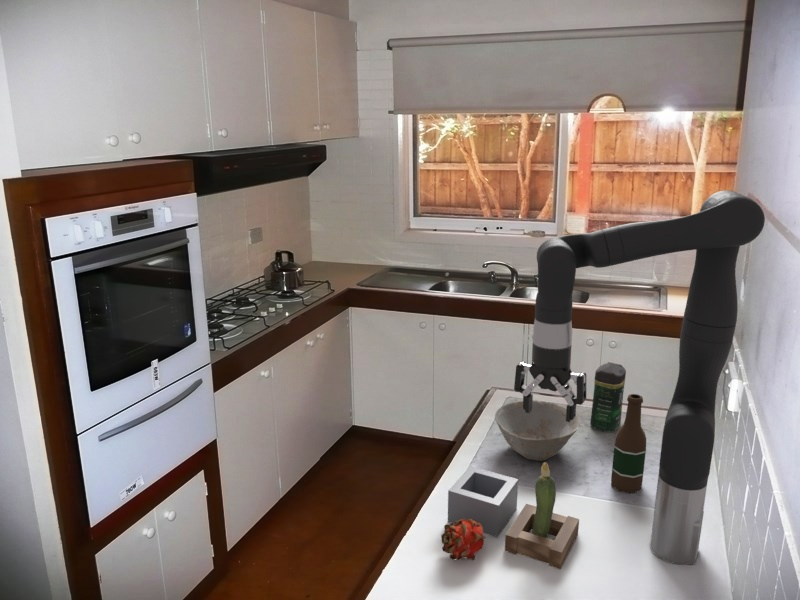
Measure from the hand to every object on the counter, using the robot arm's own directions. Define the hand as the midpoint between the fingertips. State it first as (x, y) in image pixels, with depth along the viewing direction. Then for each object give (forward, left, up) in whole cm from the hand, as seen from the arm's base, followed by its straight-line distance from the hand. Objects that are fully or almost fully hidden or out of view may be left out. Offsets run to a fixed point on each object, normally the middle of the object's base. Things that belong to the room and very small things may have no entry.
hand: (548, 416), depth 138 cm
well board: (-1, 0, -30) cm, 30 cm away
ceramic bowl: (+14, -37, -30) cm, 49 cm away
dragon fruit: (+13, +12, -30) cm, 35 cm away
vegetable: (-1, 0, -30) cm, 30 cm away
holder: (+14, -3, -30) cm, 33 cm away
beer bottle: (-12, -32, -30) cm, 45 cm away
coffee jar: (+1, -62, -30) cm, 68 cm away
